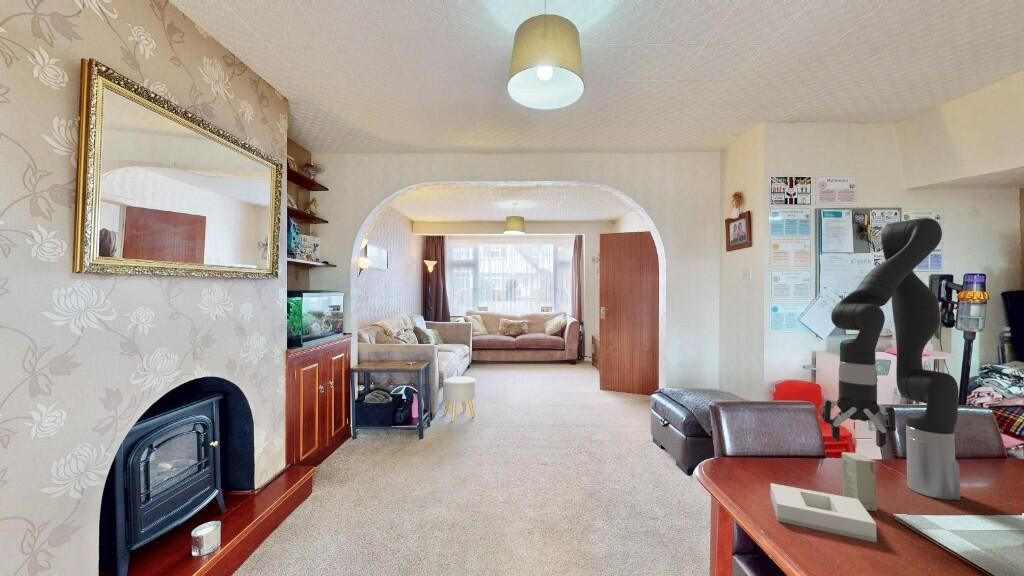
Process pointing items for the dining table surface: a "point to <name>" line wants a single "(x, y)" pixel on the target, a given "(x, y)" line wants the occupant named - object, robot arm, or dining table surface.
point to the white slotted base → (822, 512)
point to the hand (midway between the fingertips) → (857, 443)
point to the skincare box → (859, 479)
